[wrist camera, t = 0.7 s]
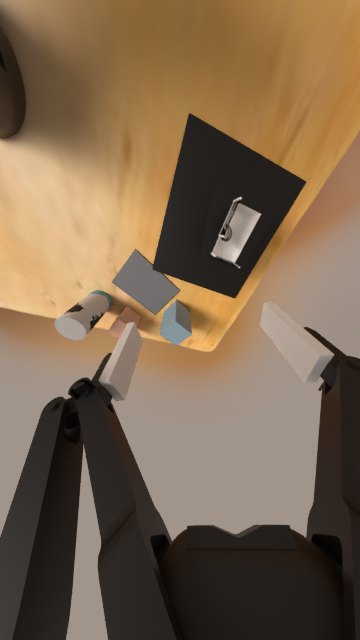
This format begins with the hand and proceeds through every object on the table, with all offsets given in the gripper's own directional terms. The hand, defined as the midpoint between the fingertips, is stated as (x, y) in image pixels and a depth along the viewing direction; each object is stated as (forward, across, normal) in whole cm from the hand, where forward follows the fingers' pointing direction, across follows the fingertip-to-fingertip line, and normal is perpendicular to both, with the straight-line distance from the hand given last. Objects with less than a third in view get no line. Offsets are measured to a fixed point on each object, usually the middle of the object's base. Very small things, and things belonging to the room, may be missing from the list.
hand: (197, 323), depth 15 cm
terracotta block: (+29, -22, -14) cm, 39 cm away
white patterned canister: (+29, -28, -7) cm, 41 cm away
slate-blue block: (+28, -5, -15) cm, 33 cm away
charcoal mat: (+29, -13, -5) cm, 32 cm away
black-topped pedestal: (+29, +9, +5) cm, 30 cm away
